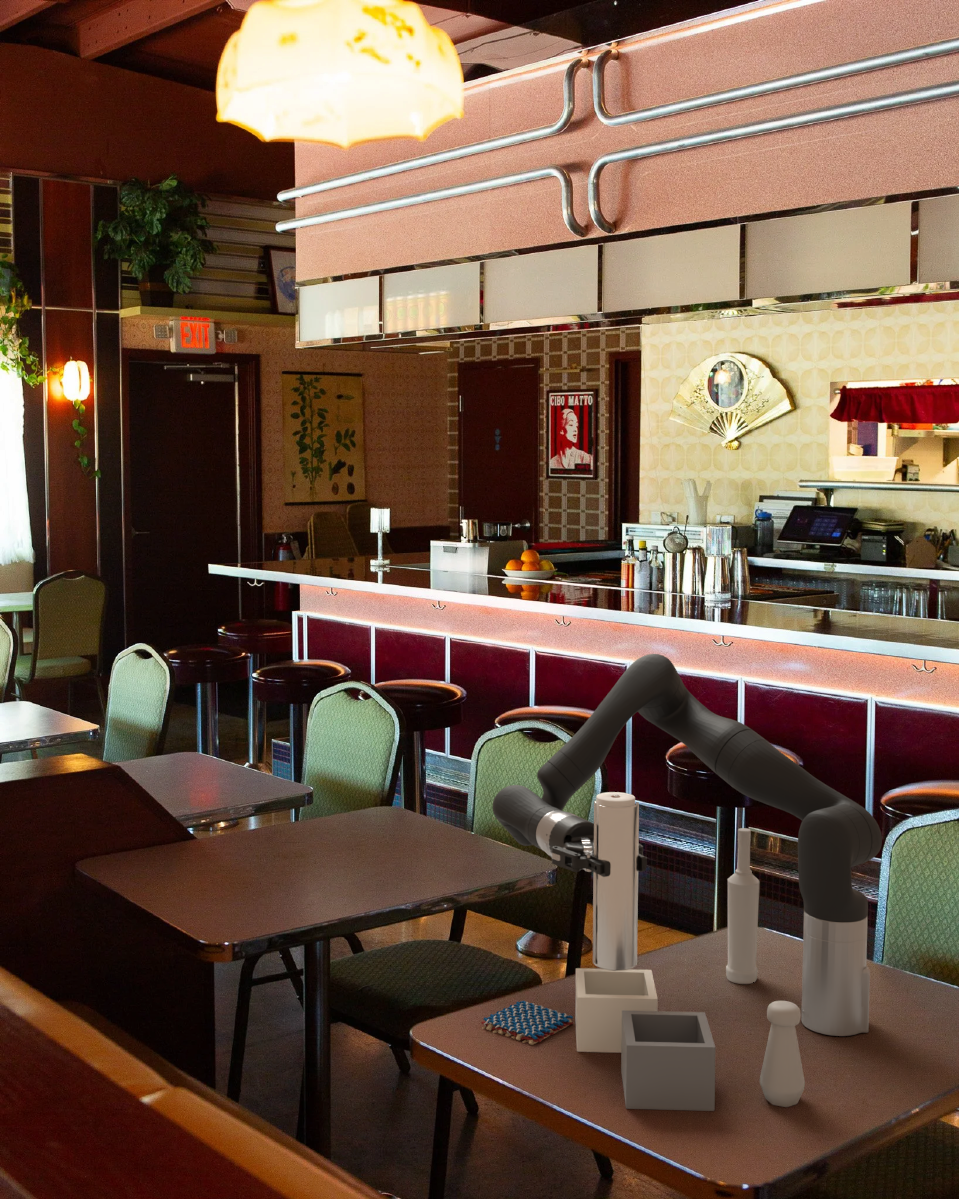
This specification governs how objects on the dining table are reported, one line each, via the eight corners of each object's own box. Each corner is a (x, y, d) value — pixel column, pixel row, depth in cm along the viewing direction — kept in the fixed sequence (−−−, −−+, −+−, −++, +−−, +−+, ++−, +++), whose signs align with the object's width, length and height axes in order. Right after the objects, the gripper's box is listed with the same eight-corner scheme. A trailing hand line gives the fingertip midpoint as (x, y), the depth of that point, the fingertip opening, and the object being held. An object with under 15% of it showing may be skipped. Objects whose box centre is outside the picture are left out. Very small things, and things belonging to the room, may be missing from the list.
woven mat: (520, 1009, 203) (520, 997, 202) (576, 1027, 196) (576, 1014, 196) (477, 1030, 195) (477, 1017, 194) (534, 1050, 188) (534, 1036, 188)
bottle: (722, 981, 213) (725, 832, 211) (728, 971, 218) (731, 824, 216) (754, 986, 211) (757, 835, 209) (760, 975, 216) (763, 827, 214)
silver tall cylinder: (635, 972, 187) (637, 801, 185) (590, 969, 188) (591, 799, 186) (638, 956, 193) (640, 791, 191) (595, 953, 194) (596, 789, 192)
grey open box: (703, 1071, 180) (704, 1012, 179) (714, 1111, 168) (715, 1047, 168) (621, 1069, 180) (621, 1010, 180) (626, 1108, 169) (626, 1045, 168)
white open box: (650, 1021, 197) (651, 969, 196) (657, 1053, 186) (657, 999, 185) (575, 1019, 198) (575, 968, 197) (576, 1051, 186) (577, 997, 186)
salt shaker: (754, 1090, 174) (755, 996, 173) (795, 1088, 175) (797, 994, 174) (767, 1111, 168) (769, 1013, 167) (810, 1109, 169) (812, 1012, 168)
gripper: (528, 820, 199) (582, 847, 184) (609, 810, 205) (668, 836, 190) (527, 868, 200) (582, 899, 184) (608, 856, 206) (667, 886, 190)
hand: (625, 867), depth 187 cm, fingers closed on silver tall cylinder, 5 cm apart
